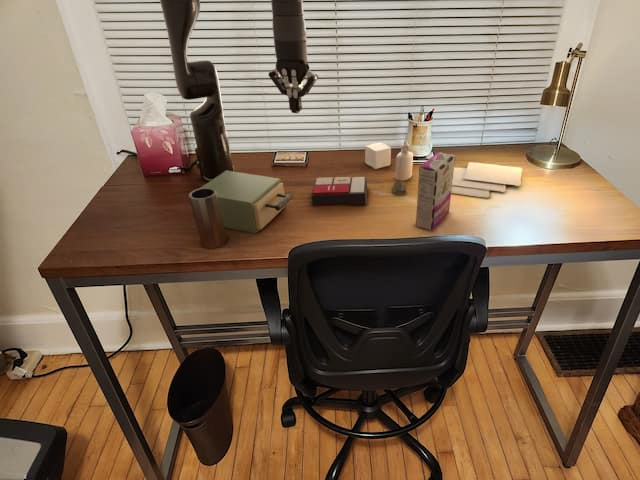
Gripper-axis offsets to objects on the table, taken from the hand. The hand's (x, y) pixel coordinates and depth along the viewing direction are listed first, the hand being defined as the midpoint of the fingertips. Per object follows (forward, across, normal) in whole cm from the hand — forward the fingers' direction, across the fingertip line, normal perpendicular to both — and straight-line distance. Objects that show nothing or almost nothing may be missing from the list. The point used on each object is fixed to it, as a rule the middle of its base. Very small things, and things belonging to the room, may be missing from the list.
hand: (296, 112), depth 112 cm
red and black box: (+24, +10, +3) cm, 26 cm away
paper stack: (+24, +46, +28) cm, 59 cm away
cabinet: (+24, -10, -16) cm, 30 cm away
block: (+24, +25, +13) cm, 37 cm away
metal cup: (+24, -9, -30) cm, 39 cm away
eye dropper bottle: (+24, +24, +22) cm, 40 cm away
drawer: (+23, -6, -15) cm, 28 cm away
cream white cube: (+24, +13, +30) cm, 40 cm away
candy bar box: (+24, +38, -1) cm, 45 cm away
